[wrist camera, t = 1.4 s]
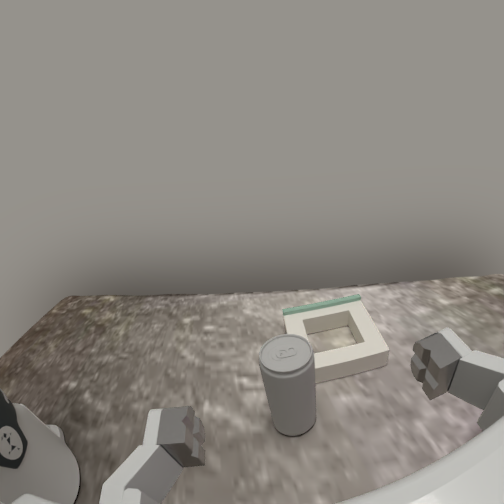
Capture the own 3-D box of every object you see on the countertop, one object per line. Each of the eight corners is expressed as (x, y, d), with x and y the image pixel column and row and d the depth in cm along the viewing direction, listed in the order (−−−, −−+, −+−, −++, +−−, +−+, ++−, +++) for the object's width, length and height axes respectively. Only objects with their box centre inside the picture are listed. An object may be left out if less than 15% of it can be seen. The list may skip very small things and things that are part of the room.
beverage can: (270, 409, 31) (254, 339, 26) (310, 400, 31) (306, 327, 26) (277, 442, 26) (261, 378, 21) (320, 431, 26) (321, 364, 21)
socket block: (297, 387, 33) (295, 369, 31) (284, 327, 44) (282, 309, 42) (386, 365, 33) (390, 346, 31) (358, 312, 43) (359, 294, 42)
